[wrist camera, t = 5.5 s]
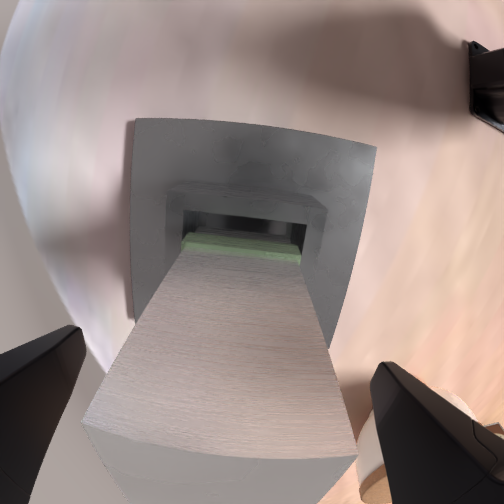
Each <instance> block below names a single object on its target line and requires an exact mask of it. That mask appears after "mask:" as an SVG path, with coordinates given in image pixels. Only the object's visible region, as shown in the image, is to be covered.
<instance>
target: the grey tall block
mask: <svg viewBox="0 0 504 504" xmlns="http://www.w3.org/2000/svg"><path fill="white" fill-rule="evenodd" d="M301 256H302V255H301V253H300V251H299V248H298V246H297V245H295V244H291V242H290V239H289V236H284V235H276V234H267V233H259V232H251V231H242V230H233V229H224V228H216V227H207V226H199V227H198V228H197V230H196V231H195V233H191V232H188V234H187V235H186V236H185V238H184V239H183V240H182V242H181V253H180V255H179V256H178V258H177V259H176V261H175V262H174V264H173V266H172V267H171V269H170V270H169V272H168V273H167V275H166V276H165V278H164V279H163V281H162V283H161V284H160V286H159V287H158V289H157V290H156V292H155V294H154V295H153V297H152V298H151V300H150V302H149V303H148V305H147V306H146V308H145V310H144V311H143V313H142V315H141V316H140V318H139V319H138V321H137V323H136V324H135V326H134V328H133V329H132V331H131V333H130V334H129V336H128V338H127V340H126V341H125V343H124V345H123V346H122V348H121V350H120V352H119V353H118V355H117V357H116V359H115V360H114V362H113V364H112V366H111V367H110V369H109V371H108V373H107V375H106V376H105V378H104V380H103V382H102V384H101V385H100V387H99V389H98V391H97V393H96V395H95V397H94V398H93V400H92V402H91V404H90V406H89V408H88V410H87V412H86V414H85V416H84V418H83V419H82V421H81V424H82V426H83V428H84V430H85V432H86V434H87V436H88V438H89V440H90V441H91V443H92V445H93V447H94V449H95V450H96V452H97V454H98V456H99V457H100V459H101V461H102V463H103V464H104V466H105V467H106V469H107V471H108V472H109V474H110V476H111V477H112V479H113V480H114V482H115V483H116V485H117V486H118V488H119V489H120V491H121V492H122V494H123V495H124V496H125V498H126V499H127V501H128V502H129V503H130V504H317V503H318V502H319V501H320V500H321V499H322V498H323V496H324V495H325V494H326V493H327V492H328V491H329V490H330V489H331V488H332V487H333V486H334V484H335V483H336V482H337V481H338V480H339V479H340V477H341V476H342V475H343V474H344V473H345V472H346V470H347V469H348V468H349V467H350V465H351V464H352V463H353V462H354V460H355V459H356V458H357V457H358V455H359V452H358V449H357V445H356V441H355V438H354V434H353V431H352V427H351V424H350V420H349V417H348V413H347V410H346V407H345V403H344V400H343V397H342V393H341V390H340V387H339V384H338V380H337V377H336V374H335V371H334V367H333V364H332V361H331V358H330V355H329V352H328V349H327V346H326V343H325V339H324V336H323V333H322V330H321V327H320V324H319V321H318V318H317V315H316V312H315V310H314V307H313V304H312V301H311V298H310V295H309V292H308V289H307V286H306V284H305V281H304V278H303V275H302V272H301V269H300V267H299V266H300V261H301Z"/></svg>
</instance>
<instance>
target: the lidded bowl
mask: <svg viewBox="0 0 504 504" xmlns="http://www.w3.org/2000/svg"><path fill="white" fill-rule="evenodd" d="M428 387H429V386H428ZM429 388H430V389H432V390H433V391H435V392H436V393H437V394H439V395H440V396H442V397H443V398H444V399H446V400H447V401H448V402H450V403H451V404H453V405H454V406H455V407H457V408H458V409H460V410H461V411H462V412H464V413H465V414H467V415H468V416H469V417H471V418H472V419H474V420H475V421H477V422H478V420H477V418H476V417H475V415H474V414H473V412H472V411H471V410H470V408H469V407H468V406H467V405H466V404H465V402H464V401H463V400H462V399H460V398H459V397H458V396H457V395H455V394H454V393H452V392H450V391H448V390H446V389H442V388H439V387H429ZM478 423H479V422H478ZM479 424H481V423H479ZM481 425H482V424H481ZM482 426H483V425H482ZM357 449H358V452H359V455H358V457H357V458H356V459H355V461H356V471H357V476H358V481H359V485H360V488H359V492H360V497H361V500H362V501H363V502H364V503H367V504H386V503H391V502H392V499H391V494H390V489H389V484H388V479H387V474H386V469H385V465H384V460H383V456H382V452H381V447H380V443H379V439H378V435H377V430H376V425H375V418H374V411H373V409H372V411H371V412H370V414H369V418H368V419H367V421H366V423H365V424H364V426H363V428H362V430H361V432H360V435H359V437H358V441H357Z"/></svg>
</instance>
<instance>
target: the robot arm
mask: <svg viewBox="0 0 504 504" xmlns="http://www.w3.org/2000/svg"><path fill="white" fill-rule="evenodd" d="M469 57H470V111H471V113H472V114H473V115H474V116H476V117H478V118H479V119H481V120H483V121H485V122H487V123H488V124H490V125H492V126H494V127H495V128H497V129H499V130H500V131H502V132H504V48H501V49H497V50H493V51H489V50H488V49H486V48H485V47H483V46H482V45H480V44H479V43H477V42H475V41H472V42H469ZM475 107H476V110H475ZM85 356H86V345H85V341H84V336H83V332H82V329H81V328H80V327H77V326H74V325H67V326H65V327H62V328H60V329H58V330H55V331H53V332H51V333H48V334H46V335H44V336H41V337H39V338H37V339H35V340H32V341H30V342H28V343H25V344H23V345H21V346H18V347H16V348H14V349H12V350H9V351H7V352H5V353H3V354H0V504H28V503H29V500H30V495H31V493H32V490H33V487H34V484H35V481H36V478H37V475H38V473H39V470H40V467H41V465H42V462H43V459H44V457H45V454H46V451H47V449H48V447H49V444H50V442H51V439H52V437H53V434H54V432H55V430H56V428H57V425H58V423H59V420H60V418H61V416H62V414H63V412H64V409H65V407H66V405H67V403H68V401H69V399H70V397H71V394H72V392H73V389H74V386H75V384H76V380H77V378H78V375H79V372H80V370H81V367H82V364H83V362H84V359H85ZM370 391H371V397H372V404H373V411H374V418H375V425H376V430H377V435H378V439H379V443H380V447H381V452H382V456H383V460H384V465H385V469H386V474H387V479H388V484H389V489H390V494H391V499H392V504H504V439H503V438H501V437H499V436H498V435H496V434H494V433H493V432H491V431H490V430H488V429H487V428H485V427H484V426H482V425H481V424H479V423H478V422H477V421H475V420H474V419H472V418H471V417H469V416H468V415H467V414H465V413H464V412H462V411H461V410H460V409H458V408H457V407H455V406H454V405H453V404H451V403H450V402H448V401H447V400H446V399H444V398H443V397H442V396H440V395H439V394H437V393H436V392H435V391H433V390H432V389H430V388H429V387H428V386H426V385H425V384H423V383H422V382H421V381H419V380H418V379H416V378H415V377H414V376H412V375H411V374H410V373H408V372H407V371H405V370H404V369H403V368H401V367H400V366H398V365H397V364H396V363H394V362H391V361H389V362H381V363H380V364H379V365H378V367H377V369H376V371H375V374H374V376H373V378H372V380H371V383H370Z"/></svg>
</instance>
